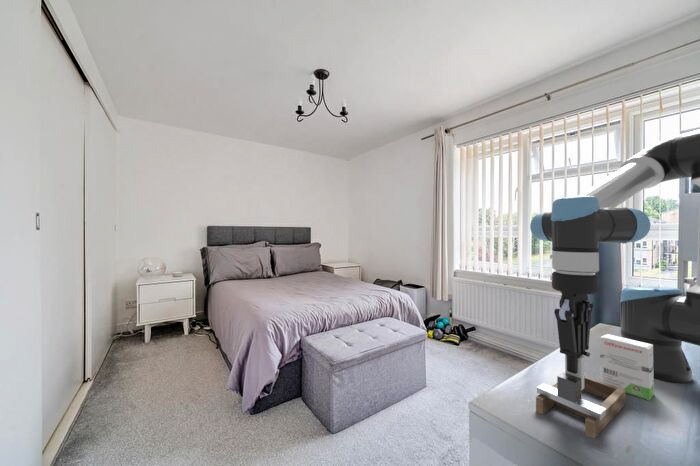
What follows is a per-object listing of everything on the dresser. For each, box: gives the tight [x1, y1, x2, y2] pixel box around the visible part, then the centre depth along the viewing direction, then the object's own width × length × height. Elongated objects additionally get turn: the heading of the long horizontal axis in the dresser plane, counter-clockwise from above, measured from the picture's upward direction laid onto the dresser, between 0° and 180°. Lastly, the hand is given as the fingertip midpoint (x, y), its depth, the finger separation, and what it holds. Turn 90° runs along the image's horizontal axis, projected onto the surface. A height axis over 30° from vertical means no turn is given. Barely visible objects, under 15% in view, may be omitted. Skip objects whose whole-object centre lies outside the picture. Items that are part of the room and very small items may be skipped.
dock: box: [535, 375, 627, 439], centre depth 59 cm, size 20×9×3 cm, turn 123°
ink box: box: [599, 333, 655, 401], centre depth 66 cm, size 9×5×12 cm, turn 33°
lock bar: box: [536, 371, 606, 421], centre depth 56 cm, size 3×10×5 cm, turn 33°
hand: (574, 386), depth 57 cm, fingers closed
